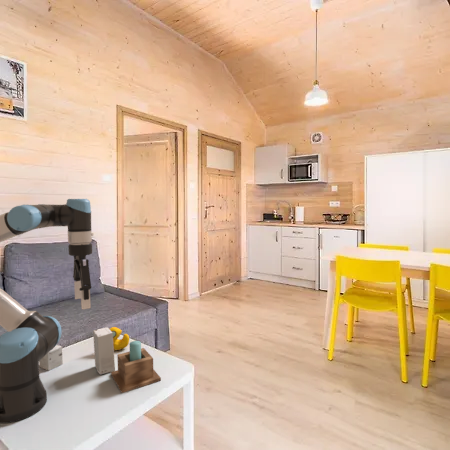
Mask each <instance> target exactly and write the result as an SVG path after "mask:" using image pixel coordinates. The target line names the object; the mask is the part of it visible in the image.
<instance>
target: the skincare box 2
mask: <svg viewBox="0 0 450 450" xmlns="http://www.w3.org/2000/svg"><path fill="white" fill-rule="evenodd" d="M92 334H93V336H92V337H93V351H94V366H95V368H96V370H97V372H98V373H99V375H100V376H101V375H103V374H104V375H105V374H107V373H111V372H113V371H116V364H115V351H114V347H113V333H112V332H111V330H110V328H109V327H108V326H105V327H102V328H99V329H93V330H92Z"/></svg>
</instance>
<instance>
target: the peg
mask: <svg viewBox="0 0 450 450" xmlns="http://www.w3.org/2000/svg"><path fill="white" fill-rule="evenodd" d="M141 348H142V342H141V341H139V340H133V341H129V352H130V362H131V361H135V360H139V359H141Z"/></svg>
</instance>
